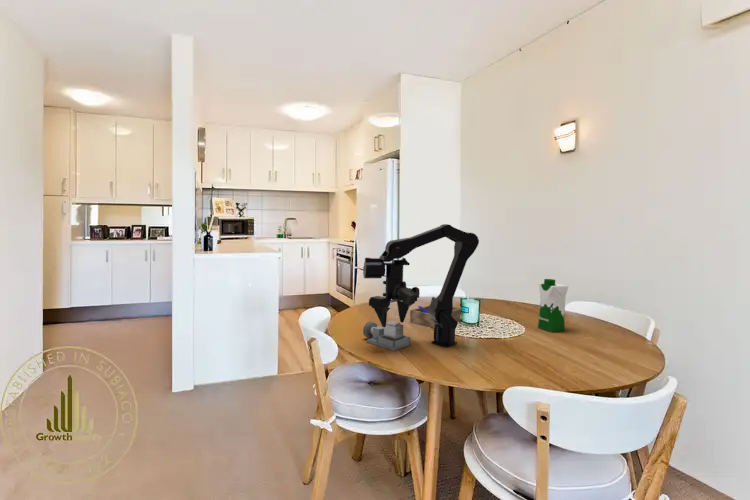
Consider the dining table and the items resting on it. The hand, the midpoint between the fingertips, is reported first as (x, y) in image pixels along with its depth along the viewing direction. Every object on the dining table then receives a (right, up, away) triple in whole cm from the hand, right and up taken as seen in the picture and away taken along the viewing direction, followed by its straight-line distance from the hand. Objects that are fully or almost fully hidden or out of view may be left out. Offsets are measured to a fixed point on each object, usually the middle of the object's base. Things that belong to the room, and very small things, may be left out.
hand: (393, 324), depth 135 cm
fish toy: (+20, -4, +35) cm, 40 cm away
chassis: (-2, -7, +2) cm, 7 cm away
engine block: (0, -6, +1) cm, 6 cm away
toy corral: (+20, -5, +35) cm, 40 cm away
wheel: (-8, -6, +8) cm, 13 cm away
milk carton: (+64, -7, +25) cm, 69 cm away
